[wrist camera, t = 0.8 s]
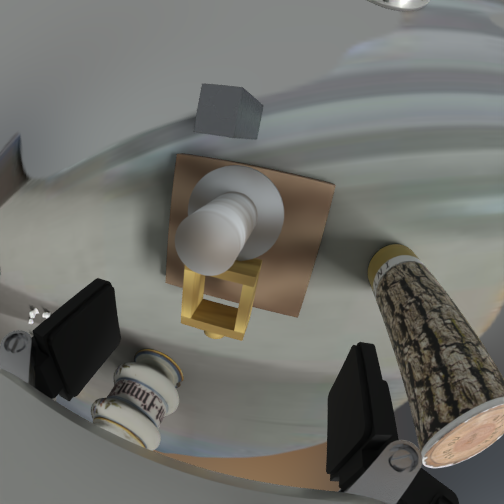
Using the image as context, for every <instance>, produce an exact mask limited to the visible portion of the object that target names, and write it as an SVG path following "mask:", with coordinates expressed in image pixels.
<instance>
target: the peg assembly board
mask: <svg viewBox="0 0 504 504" xmlns="http://www.w3.org/2000/svg"><path fill="white" fill-rule="evenodd" d="M334 190H335V184H333V183H329V182H325V181H321V180H317V179H313V178H309V177H305V176H300V175H296V174H292V173H287V172H283V171H278V170H274V169H269V168H264V167H259V166H254V165H249V164H244V163H238V162H233V161H227V160H222V159H216V158H210V157H203V156H197V155H190V154H183V153H181V154H177V157H176V165H175V173H174V181H173V190H172V199H171V210H170V221H169V233H168V247H167V264H166V283H168V284H171V285H175V286H178V287H181V288H183V296H182V312H181V323H182V324H185V325H188V326H192V327H195V328H198V329H202V330H204V333H205V335H206V336H208V337H210V338H213V339H220V338H223V337H224V336H226V337H230V338H234V339H237V340H241V341H242V340H243V337H244V334H245V331H246V328H247V325H248V322H249V319H250V315H251V310H252V307H256V308H260V309H264V310H268V311H272V312H276V313H280V314H284V315H289V316H293V317H297V318H298V315H299V312H300V309H301V306H302V303H303V300H304V296H305V293H306V290H307V287H308V284H309V280H310V277H311V274H312V270H313V267H314V264H315V260H316V257H317V253H318V250H319V246H320V243H321V239H322V236H323V232H324V228H325V225H326V221H327V217H328V213H329V209H330V206H331V202H332V198H333V194H334ZM203 294H206V295H210V296H214V297H217V298H221V299H225V300H228V301H232V302H236V303H239V308H235V307H231V306H227V305H223V304H220V303H216V302H212V301H209V300H205V299H203Z"/></svg>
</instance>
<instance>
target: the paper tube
mask: <svg viewBox="0 0 504 504" xmlns="http://www.w3.org/2000/svg"><path fill="white" fill-rule="evenodd" d="M368 279H369V282H370V285H371V287H372V290H373V292H374V296H375V298H376V301H377V304H378V306H379V309H380V312H381V314H382V317H383V320H384V323H385V326H386V329H387V332H388V335H389V338H390V341H391V344H392V347H393V350H394V353H395V356H396V359H397V362H398V366H399V369H400V372H401V376H402V379H403V383H404V386H405V390H406V394H407V397H408V401H409V405H410V409H411V413H412V417H413V421H414V426H415V430H416V434H417V439H418V444H419V448H420V452H421V455H422V459H423V460H422V462H423V464H424V465H425V466H426V467H430V468H441V467H446V466H450V465H454V464H457V463H459V462H462V461H464V460H467V459H469V458H471V457H473V456H475V455H476V454H478V453H480V452H481V451H483V450H484V449H486V448H487V447H488V446H490V445H491V444H493V443H494V442H495V441H496V440H497V439H498V438H500V437H501V436H502V435H503V434H504V379H503V377H502V375H501V373H500V372H499V370H498V368H497V367H496V365H495V363H494V362H493V360H492V358H491V357H490V355H489V354H488V352H487V350H486V349H485V347H484V345H483V344H482V342H481V341H480V339H479V338H478V336H477V335H476V333H475V332H474V330H473V329H472V327H471V326H470V324H469V323H468V321H467V320H466V319H465V317H464V316H463V314H462V313H461V312H460V310H459V309H458V307H457V306H456V305H455V303H454V302H453V301H452V299H451V298H450V297H449V295H448V294H447V293H446V291H445V290H444V289H443V288H442V286H441V285H440V284H439V282H438V281H437V280H436V279H435V277H434V276H433V275H432V274H431V272H430V271H429V270H428V269H427V268H426V266H425V265H424V264H423V263H422V262H421V261H420V260H419V258H418V257H417V256H416V255H415V254H414V253H413V251H412V250H411V249H409V248H408V247H406V246H404V245H399V244H393V245H388V246H386V247H384V248H382V249H380V250H379V251H378V252H377V253H376V254H375V255H374V256H373V258H372V259H371V261H370V264H369V267H368Z"/></svg>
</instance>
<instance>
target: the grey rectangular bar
mask: <svg viewBox="0 0 504 504" xmlns="http://www.w3.org/2000/svg"><path fill="white" fill-rule="evenodd" d="M262 111H263V105H262V104H261V103H260V102H259V101H258V100H257V99H255V98H254V97H253V96H252V95H251V94H250V93H249V92H247V91H246V90H245V89H244V88H243V87H234V86H225V85H214V84H202V88H201V93H200V98H199V103H198V109H197V114H196V120H195V126H194V132H197V133H204V134H212V135H219V136H226V137H232V138H245V139H257V137H258V131H259V126H260V121H261V116H262Z"/></svg>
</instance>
